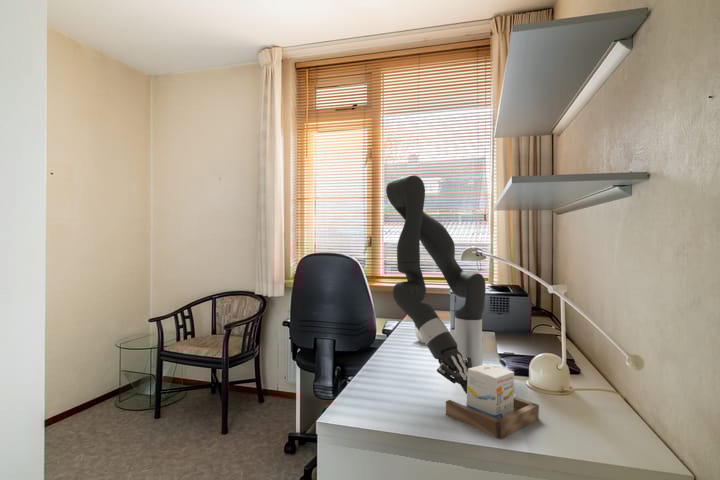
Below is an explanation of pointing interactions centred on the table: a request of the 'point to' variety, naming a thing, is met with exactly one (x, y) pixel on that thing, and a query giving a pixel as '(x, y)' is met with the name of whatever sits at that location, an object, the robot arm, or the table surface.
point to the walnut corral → (493, 426)
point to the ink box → (490, 390)
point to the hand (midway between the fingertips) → (473, 394)
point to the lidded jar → (418, 335)
